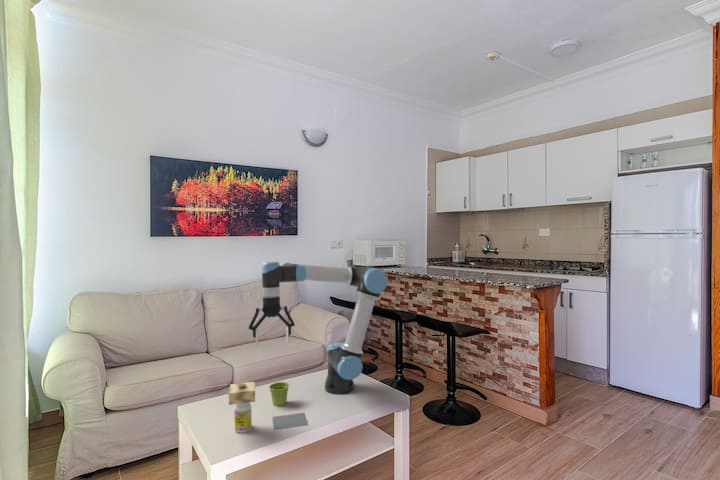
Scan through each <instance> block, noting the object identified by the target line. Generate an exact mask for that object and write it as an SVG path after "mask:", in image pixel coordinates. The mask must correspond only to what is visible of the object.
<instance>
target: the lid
mask: <svg viewBox="0 0 720 480" xmlns="http://www.w3.org/2000/svg"><path fill="white" fill-rule="evenodd" d="M228 391H229V392H228V405H229V406H232V405H236V404H240V403H248V402H249V403H255V402H256V382H255V381H249V382H248V381H247V382H240V383H231V384H229V390H228Z"/></svg>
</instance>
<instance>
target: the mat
mask: <svg viewBox="0 0 720 480" xmlns="http://www.w3.org/2000/svg"><path fill="white" fill-rule="evenodd" d="M271 417H272V424H273V425H272V426H273V431H276V430H277V431H278V430H284V429H290V428H297V427H304V426H309V423H308V419H307V416H306V413H305V412H299V413H292V414H284V415H276V416H271Z"/></svg>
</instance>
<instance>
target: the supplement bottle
mask: <svg viewBox="0 0 720 480" xmlns="http://www.w3.org/2000/svg"><path fill="white" fill-rule="evenodd" d="M234 405H235V406H234V431H235V432H237V433H247V432H248V431H250V430H251V429H252V421H253V420H252V404H251V402H248V403H240V404H234Z"/></svg>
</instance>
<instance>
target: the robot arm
mask: <svg viewBox="0 0 720 480" xmlns="http://www.w3.org/2000/svg"><path fill="white" fill-rule="evenodd" d="M261 269H262V270H261V271H262V272H261V279H262V296H263V297H262V307H256V308H255V313H254V314H253V317H252V319H251V320H250V323H249V325H248V329H249V330H251V331H252V337H253V338H255V346H259V344H258V329H257V328H258V327H259V326H260V325H261V324H262V323H263V321H265V319H266V318H275V317H278V318H279V320H281V321H282V322H283V324H284V325H286V327H285V330H286V332H285V333H286V335H285V337H286V338H285V339H286V340H285V341H286V343H289V342H290V337H289V335H291V334H292V327H295V325H296V324H295V321H294V320H293V317H292V316H291V314H290V313H289V311H288V307H287V305H283V306H281V298H280V292H281V289H280V285H281V284H280V283H293V282H295V283H296V282H298V283H299V282H304V281H314V282H325V283H326V282H327V283H339V284H346V285H347V286H352V287H356V288H357V289H356V293H357V299H356V302H355V306H354V310H353V313H352V316H351V320H350V323H349V326H348V329H347V334H346V336H345V341H344V342H333V343H330V344H328V346H327V349H326V350H327V351H326V353H327V376H326V379H325V382H324V390H325V392H327V393H329V394H335V395H336V394H338V395H341V394H348V393H350V392H352V391H353V390H354V389H355V382H354V380H355V379H356V378H358V377H359V376H360V375H361V373H362V371H363V367H364V366H363V361H362V359H363V355H364V351H363V350H362V349H363V348H362V346H363V344H364V340H365V337H366V334H367V329H368V327H369V323H370V319H371V316H372V313H373V308H374V306H375V304H376V303H375V302H376V301H377V300H378V299H380V296H381V293H382V292H383V291H384V290H385V289H386V288H387V285H388V278H387V275H386V274H385V272H384V271H383V270H381V269H380V268H377V267H371V266H347V268H346V267H345V268H344V267H335V266H333V267H332V266H322V265H313V264H312V265H311V264H310V265H309V264H298V263H291V262H285V263H283V264H282V265H280V263H279V262H278V261H265V262H263V263H262V268H261ZM384 292H385V291H384ZM281 310H282V312H284V314H285V315H286V316H287V319H288V321H289V322H290V323H289V322H288V321H287V319H286V318H285V317H284V316H283V315H282V314H281V313H280V312H281ZM261 312H263V314H262V316H261V317H260V318H259V319H258V321H257V322H256V319H257V317H258V316H259V314H260V313H261ZM255 323H256V324H255Z"/></svg>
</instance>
